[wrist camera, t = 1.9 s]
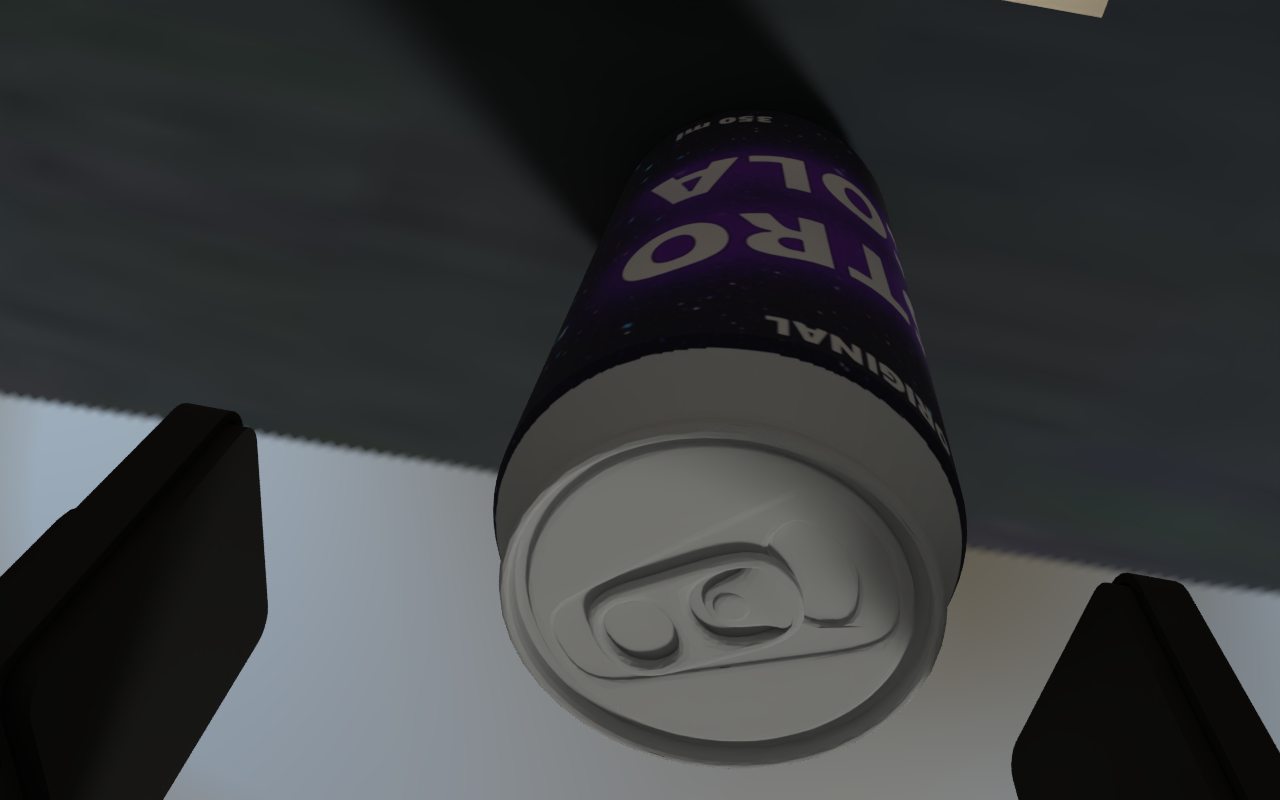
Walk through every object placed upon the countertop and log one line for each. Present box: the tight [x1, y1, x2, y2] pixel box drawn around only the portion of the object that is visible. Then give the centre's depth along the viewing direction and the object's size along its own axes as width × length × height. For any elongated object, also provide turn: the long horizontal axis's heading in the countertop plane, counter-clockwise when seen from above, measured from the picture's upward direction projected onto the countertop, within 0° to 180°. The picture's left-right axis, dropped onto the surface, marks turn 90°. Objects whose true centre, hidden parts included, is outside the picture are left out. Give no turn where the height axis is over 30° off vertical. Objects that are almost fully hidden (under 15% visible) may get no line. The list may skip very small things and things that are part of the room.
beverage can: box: [493, 109, 967, 769], centre depth 16 cm, size 6×6×12 cm
